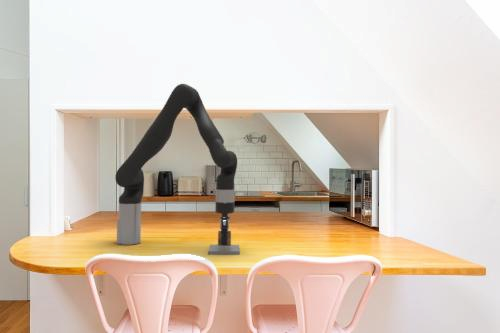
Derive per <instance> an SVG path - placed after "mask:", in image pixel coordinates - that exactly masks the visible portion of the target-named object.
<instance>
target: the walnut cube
mask: <svg viewBox="0 0 500 333" xmlns="http://www.w3.org/2000/svg"><path fill="white" fill-rule="evenodd" d="M223 232H226V231H223ZM221 238H222V235H221V230H218V232H217V245H218V246H231V245H232V244H231V243H232V230H228V235H227V245H222V244H221Z"/></svg>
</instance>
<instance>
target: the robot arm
mask: <svg viewBox="0 0 500 333" xmlns="http://www.w3.org/2000/svg"><path fill="white" fill-rule="evenodd" d="M184 109H186V110H187V111H188V112H189V114H190V115H191V116H192V117H193V120H195V124H196V127H197V130H198V133H199V135H200V137H201V138H202V140H203V142H204V143H205V146H206V147H207V148H208V151H209V153H210V154H209V155H210V156H211V159H212V161H213V162H214V164H215V166H216V167H218V168H220V173H219V174H218V175H217V177H216V190H215V206H214V207H215V209H214V210H215V213H217V214H221V216H219V229H220V231H221V235H222V238H221V244H222V245H227V235H228V231H229V230H230V222H231V221H230V218H231V217H230V216H228V215H230V214H234V213H235V198H236V197H235V178H236V177H235V176H236V173H237V168H238V158H237V155H236V153H235V152H234V151H232V150H227V149H226V147H225V145H224V144H225V140H224V138H223V136H222V135H221V133H220V131H219V130H218V129H217V127H216V126H215V123H214V122H213V121H212V119H211V117H210V115H209V113H208V112H207V110H206V108H205V105H204V103H203V101H202V98H201V96H200V93H199V92H198V90H197V89H196V88H194V87H192V86H190V85H189V84H186V83H180V84H177V85H176V86H175V87H174V88H173V89H172V92H170V95H169V96H168V98H167V100H166V101H165V104H164V105H163V107H162V109H161V111H160V112H159V114H158V115H157V117H156V118H155V120H154V121H153V122H152V123H151V125H150V126H149V128H148V129H147V130H146V132H145V134H144V135H143V136H142V138H141V139H140V141H139V142H138V144H137V145H136V146H135V148H134V149H133V151H132V152H131V154H130V155H129V156H128V157H127V159H126V160H125V161H124V162H123V163H122V164H121V165H120V166H119V167H118V169H117V170H116V173H115V182H116V185H118V186H119V187H121V188H123V192H122V194H120V196H119V198H118V220H117V221H116V244H117V245H123V246H124V245H125V246H126V245H127V246H128V245H130V246H131V245H137V244H140V243H141V241H142V240H141V238H142V237H141V236H142V234H141V231H142V199H143V196H144V185H145V174H144V171H143V169H142V168H143V167H144V166H145V164H147V162H148V161H150V160H151V159H152V158H153V157H155V156H157V154H159V152H160V151H161V150H163V148H164V147H165V145H166V144H167V143H168V141H169V139H170V138H171V136H172V133H173V130H174V125H175V121H176V120H177V117H178V116H179V115H180V114H181V112H182V111H183V110H184ZM223 231H226V232H223Z"/></svg>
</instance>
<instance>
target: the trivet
mask: <svg viewBox="0 0 500 333" xmlns="http://www.w3.org/2000/svg"><path fill="white" fill-rule="evenodd" d="M208 247H209V248H208V255H240V254H241V251H240V250H241V249H240V244H231V246H218V244H209V246H208Z"/></svg>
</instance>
